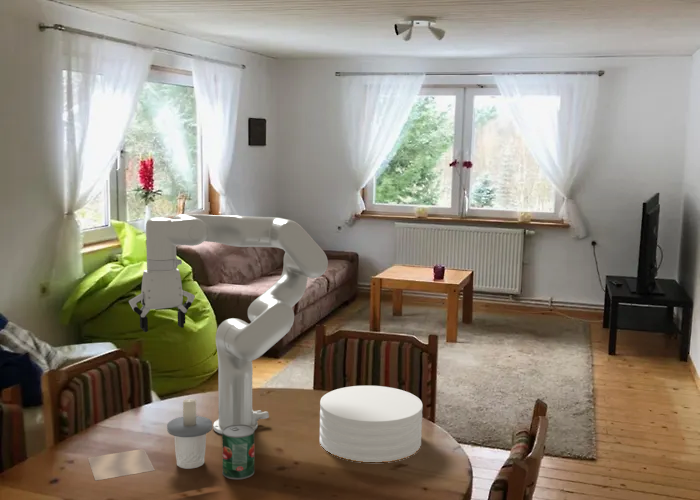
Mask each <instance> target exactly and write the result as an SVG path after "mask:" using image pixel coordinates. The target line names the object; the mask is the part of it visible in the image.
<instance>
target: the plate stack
mask: <svg viewBox="0 0 700 500" xmlns="http://www.w3.org/2000/svg"><path fill="white" fill-rule="evenodd" d="M319 407H320V410H319V445H320V444H321V445H320V447H321V446H322V447H323V448H324V449H325V450H326V451H328V452H330V453H331V454H334V455H337V456H339V457H343V458H346V459H351V460H356V461H363V462H382V461H392V460H397V459H401V458H404V457H407V456H410V455H412V454H414V453H415V452H416V451H417V450H418V449H419V448H420V446H421V447H422V428H423V422H422V420H423V402H422V400H421V399H420V398H419V397H418V396H416V395H414V394H413V393H411V392H409V391H407V390H406V391H405V390H404V389H403V390H402V389H399V388H395V387H391V386H390V387H389V386H382V385H353V386H345V387H340V388H337V389H334V390H331V391H329V392H327V393H325V394H324V395H322V397H321V398H320V401H319ZM322 447H321V448H322ZM323 448H322V449H323ZM324 449H323V450H324ZM420 449H421V448H420ZM325 450H324V451H325ZM326 451H325V452H326ZM328 452H327V453H328ZM331 454H330V455H331ZM414 455H415V454H414Z"/></svg>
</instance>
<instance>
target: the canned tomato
mask: <svg viewBox="0 0 700 500" xmlns="http://www.w3.org/2000/svg"><path fill="white" fill-rule="evenodd" d="M255 431H256V430H254V428H253V427H252V426H249V425H245V424H235V425H230V426H227V427H225V428H224V429H223V430H222V434H221V435H222V436H221V438H222V439H221V440H222V443H221V446H222V475H223V476H224V477H225V478H227V479H230V480H244V479H248V478H250V477H252V476H253V475H254V474H255Z"/></svg>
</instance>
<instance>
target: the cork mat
mask: <svg viewBox="0 0 700 500" xmlns="http://www.w3.org/2000/svg"><path fill="white" fill-rule="evenodd" d="M87 460H88V462H89V463H88V464H89V467H90V469H91V472H92V475H93V478H94V479H93V480H94V481H102V480H107V479H108V480H109V479H113V478H114V479H115V478H119V477H126V476H131V475H138V474H142V473H149V472H154V471H156V469H155V468H154V466H153V463H152V461H151V460H150V458H149V455H148V454H147V452H146V450H145V448H140V449H139V448H138V449H133V450H128V451H121V452H116V453H115V452H114V453H108V454H102V455H96V456H89V457H87Z"/></svg>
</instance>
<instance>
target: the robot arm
mask: <svg viewBox="0 0 700 500" xmlns="http://www.w3.org/2000/svg"><path fill="white" fill-rule="evenodd" d="M145 233H146V234H145V235H146V243H145V244H146V245H145V246H146V269H144V270H143V273H142V274H143V275H142V280H141V291H140V292H141V293H139V294H137V295H136V296H135V297H132V298H131V299H129V300H128V303H129V305H130V307H131V309H132V310H133V312H135V313H136V314H137V315H138V316H139V328H140V329H141V330H142V331H143V332H144V333H147V332H148V331H149V326H148V325H149V324H148V321H149V320H148V317H147V314H148V313H149V312H150V311H151V310H160V309H169V308H170V309H172V308H177V309H178V311H177V326H178V327H180V328H181V329H183V328H184V327H185V324H186V313H187V312H188V310H189V308H191V306H192V303H193V302H194V300H195V297H196V295H194V294H193V293H191V292H188V291H185V290H183V283H182V277H181V272H180V269H179V268H178V266H180V265H183V262H182V261H183V260H182V259H179V258H178V257H177V245H178V246H189V247H194V246H198V245H200V244H203V243H204V242H208V243H209V242H210V243H216V244H222V245H225V246H230V247H236V248H237V247H238V248H240V247H241V248H276V249H277V248H278V249H281V250H283V251H284V255H283V269H282V272H281V275H280V277H279V279H277V281H276V282H275V283H274V284H272V285H271V286H270V287H269V288H268V289H267V290H265V291H264V292H263V293H262V294H260V295H259V296H258V297H257V298H256V299H254V300H253V301H252V302H251V303H250V305H249V306H248V308H247V317H248V320H249V321H250V323H248V322H246V321H245V320H242V319H241V318H234V317H232V318H228V319H225V320H223V321H222V322H221V323H220V324H219V325H218V327H217V330H216V333H215V345H216V351H217V362H218V363H217V366H218V367H217V368H218V419H216V420H215V421H214V422H212V430H214V432H216V433H217V434H219V435H222V430H223V429H224V428H225V427H227V426H230V425H235V424H245V425H249V426H252V427H253V428H254V430H255V431H256V430H257V429H258V424H259V423H258V421H259V420H265V419H269V417H270V414H269V411H262V410H261V409H259V410H254V409H253V361H254V360H255V361H256V359H259V358H260V357H262V356H263V355H264V354H265V353H266V352H267V351H269V350H270V349H271V348H272V347H273V346H275V344H276V343H278V342H279V341H280V340H281V339H283V338H284V337H285V335H286V334H288V333H289V332H290V331H291V328H292V327H293V325H294V321H295V312H294V309H293V307H294V306H295V305H296V304H297V303H298V302H299V301H300V300H301V299H302V297H303V296H304V295H305V292H306V290H307V285H308V284H307V283H308V278H309V279H310V278H311V279H317V278H319V277H321V276H323V275H324V274H326V271H327V270H328V265H329V261H328V257H327V255H326V253H325V251H324V250H323V249H322V248H321V246H320V245H319V244H318V243H317V242H316V241H315V240H314V239H313V238H312V236H311V235H310V234H309V233H308V231H306V230H305V229H304V228H303V226H301V225H300V224H299V223H298V222H296V221H294V220H292V219H288V218H284V217H276V216H275V217H274V216H251V215H250V216H248V215H215V214H214V215H213V214H193V213H181V214H175V216H173V217H172V218H170V217H153V218H152V217H151V218H149V219H148V220H147V221H146V224H145ZM183 296H184V297H186V298H187V299H186V301H185V302H184V303H183V301H184V297H183ZM139 302H141V305H142V306H141V308H139V307H138V305H137V303H139Z"/></svg>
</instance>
